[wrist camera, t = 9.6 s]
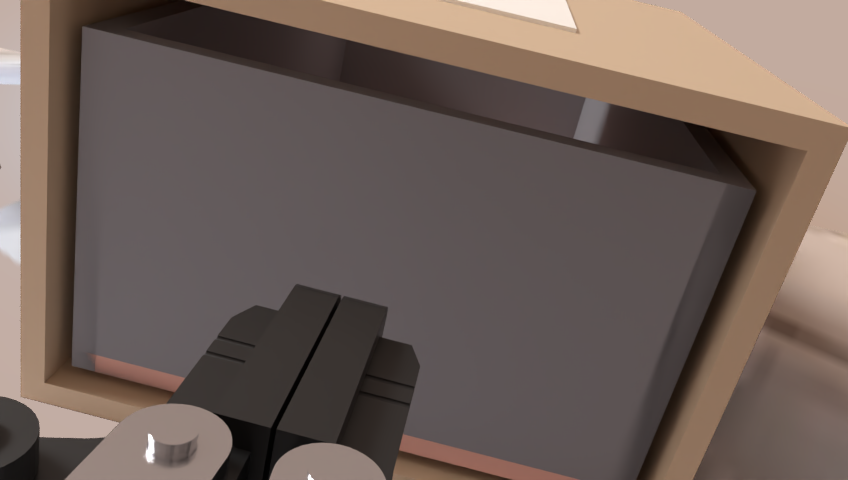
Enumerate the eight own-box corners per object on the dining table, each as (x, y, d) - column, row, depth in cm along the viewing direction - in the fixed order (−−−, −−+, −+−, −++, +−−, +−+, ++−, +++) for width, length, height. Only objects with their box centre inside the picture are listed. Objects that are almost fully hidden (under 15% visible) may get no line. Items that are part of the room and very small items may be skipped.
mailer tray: (624, 508, 19) (756, 191, 15) (71, 365, 19) (82, 26, 16) (572, 175, 43) (620, 21, 39) (325, 114, 43) (351, -44, 40)
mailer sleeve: (655, 561, 19) (855, 123, 14) (20, 396, 19) (20, -78, 15) (597, 257, 35) (681, 9, 31) (256, 172, 36) (289, -85, 31)
